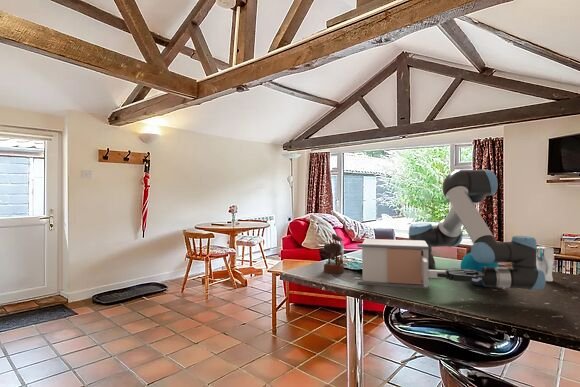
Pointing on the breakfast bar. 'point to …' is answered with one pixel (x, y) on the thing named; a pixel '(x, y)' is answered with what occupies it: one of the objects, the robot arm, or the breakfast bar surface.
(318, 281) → the breakfast bar surface
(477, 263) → the decorative orb
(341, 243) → the screw
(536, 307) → the breakfast bar surface
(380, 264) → the sliding door cabinet
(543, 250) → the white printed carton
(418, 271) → the side door
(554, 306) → the breakfast bar surface
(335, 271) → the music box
